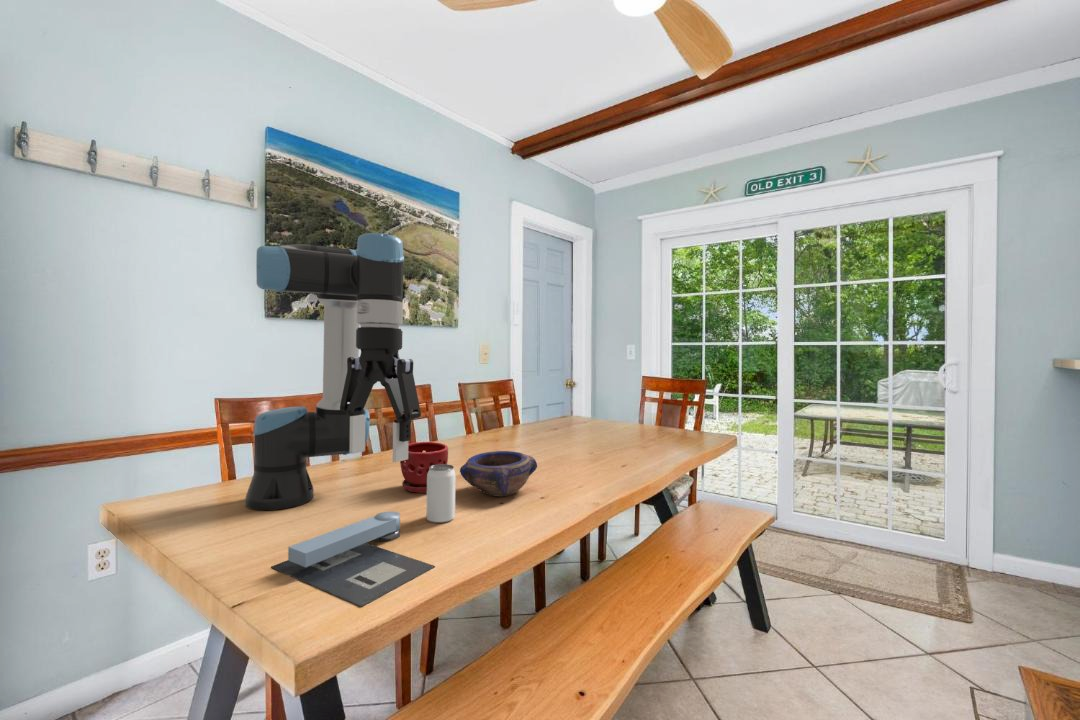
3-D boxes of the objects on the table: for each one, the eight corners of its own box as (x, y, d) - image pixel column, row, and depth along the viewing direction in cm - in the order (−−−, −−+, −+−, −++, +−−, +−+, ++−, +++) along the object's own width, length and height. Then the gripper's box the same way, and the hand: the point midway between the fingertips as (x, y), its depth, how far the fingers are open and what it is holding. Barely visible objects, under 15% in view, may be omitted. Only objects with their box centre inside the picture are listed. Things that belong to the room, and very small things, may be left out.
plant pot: (389, 489, 133) (390, 446, 133) (428, 479, 144) (428, 439, 143) (418, 499, 125) (419, 453, 125) (457, 488, 135) (457, 446, 135)
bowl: (451, 493, 130) (451, 457, 130) (494, 479, 145) (494, 446, 145) (502, 507, 120) (503, 467, 120) (543, 490, 135) (543, 455, 134)
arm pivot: (369, 537, 99) (369, 531, 99) (388, 530, 104) (388, 524, 104) (386, 543, 97) (386, 537, 97) (404, 535, 101) (404, 529, 101)
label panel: (271, 567, 85) (271, 566, 85) (348, 537, 99) (348, 536, 99) (361, 607, 73) (361, 605, 73) (434, 567, 87) (434, 565, 87)
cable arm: (288, 561, 84) (288, 545, 84) (388, 522, 104) (388, 509, 104) (305, 568, 82) (305, 552, 82) (405, 527, 101) (405, 514, 101)
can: (448, 524, 107) (449, 471, 107) (421, 522, 109) (422, 469, 108) (459, 515, 114) (459, 464, 113) (433, 512, 115) (434, 463, 115)
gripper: (318, 326, 84) (317, 451, 85) (411, 325, 73) (409, 470, 73) (354, 328, 91) (353, 444, 91) (444, 327, 79) (443, 460, 80)
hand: (378, 456), depth 82 cm, fingers open, 10 cm apart
